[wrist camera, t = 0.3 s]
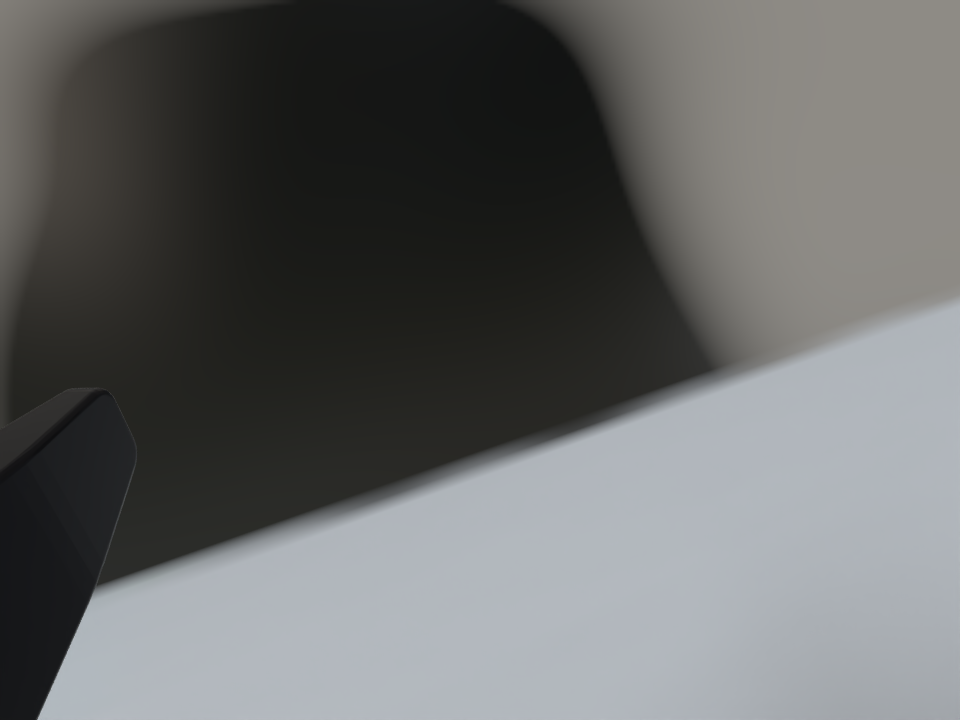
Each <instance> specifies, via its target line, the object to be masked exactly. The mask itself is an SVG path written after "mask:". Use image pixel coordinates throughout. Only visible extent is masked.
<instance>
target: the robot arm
mask: <svg viewBox="0 0 960 720" xmlns="http://www.w3.org/2000/svg"><path fill="white" fill-rule="evenodd" d="M136 459H137V449H136V444H135V441H134V439H133V436H132V435H131V432H130V430H129V428H128V426H127V424H126V422H125V420H124V417H123V416H122V413H121V411H120V409H119V407H118V405H117V403H116V401H115V399H114V397H113V396H112V394H110V393H109V392H108V391H107V390H105V389H102V388H73V389H69V390H66V391H64V392H62V393H61V394H59V395H57V396H55V397H54V398H52V399H50V400H49V401H47V402H45V403H44V404H42V405H40V406H39V407H37V408H35V409H33V410H32V411H30V412H28V413H27V414H25V415H23V416H22V417H20V418H18V419H17V420H15V421H13V422H12V423H10V424H8V425H6V426H5V427H3V428H1V429H0V720H37V719H38V717H39V715H40V712H41V710H42V708H43V706H44V703H45V701H46V699H47V697H48V694H49V692H50V690H51V687H52V685H53V683H54V681H55V678H56V676H57V674H58V672H59V669H60V667H61V665H62V663H63V660H64V658H65V656H66V654H67V651H68V649H69V647H70V645H71V642H72V640H73V638H74V636H75V633H76V631H77V629H78V627H79V624H80V622H81V620H82V617H83V615H84V613H85V611H86V608H87V606H88V604H89V602H90V599H91V597H92V594H93V592H94V589H95V587H96V584H97V582H98V579H99V576H100V573H101V570H102V568H103V565H104V562H105V559H106V556H107V553H108V550H109V547H110V543H111V540H112V537H113V534H114V531H115V528H116V525H117V522H118V519H119V515H120V512H121V509H122V506H123V503H124V500H125V496H126V494H127V491H128V488H129V484H130V481H131V478H132V475H133V471H134V469H135V465H136Z"/></svg>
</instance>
